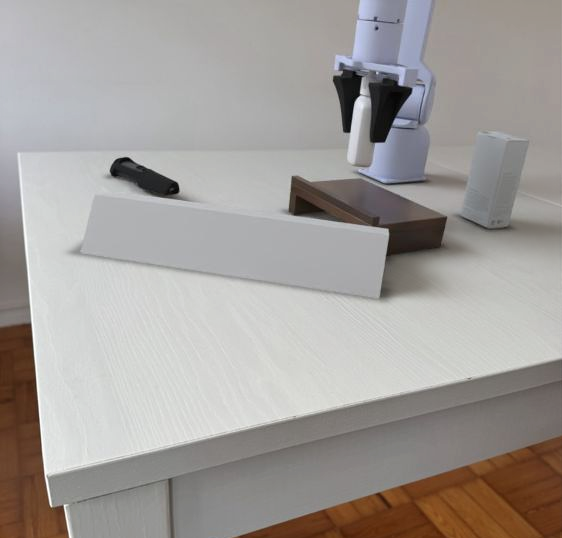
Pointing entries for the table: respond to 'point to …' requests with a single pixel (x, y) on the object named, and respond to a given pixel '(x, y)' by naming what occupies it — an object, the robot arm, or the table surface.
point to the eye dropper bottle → (362, 127)
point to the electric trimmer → (144, 177)
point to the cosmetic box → (494, 178)
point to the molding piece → (238, 242)
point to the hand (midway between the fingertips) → (363, 137)
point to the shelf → (371, 211)
